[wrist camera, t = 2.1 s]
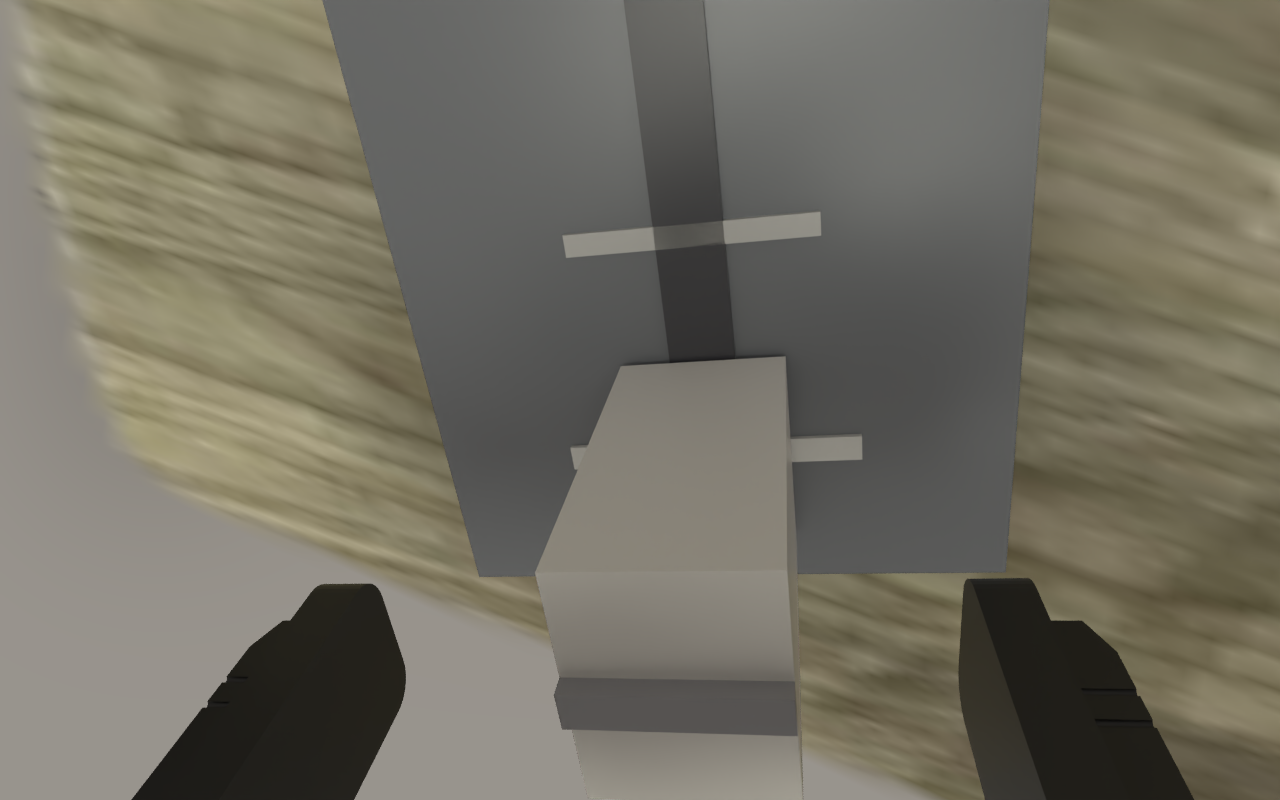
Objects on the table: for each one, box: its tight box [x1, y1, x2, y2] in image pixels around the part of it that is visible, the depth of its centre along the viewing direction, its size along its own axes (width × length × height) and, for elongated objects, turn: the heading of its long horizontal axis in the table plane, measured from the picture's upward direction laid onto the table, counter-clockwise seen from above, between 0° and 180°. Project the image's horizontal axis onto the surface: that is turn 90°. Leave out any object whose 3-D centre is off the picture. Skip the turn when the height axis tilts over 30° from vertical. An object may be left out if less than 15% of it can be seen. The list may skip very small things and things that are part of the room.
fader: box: [535, 356, 803, 800], centre depth 13 cm, size 3×4×6 cm
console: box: [323, 0, 1049, 577], centre depth 14 cm, size 11×19×3 cm, turn 8°
